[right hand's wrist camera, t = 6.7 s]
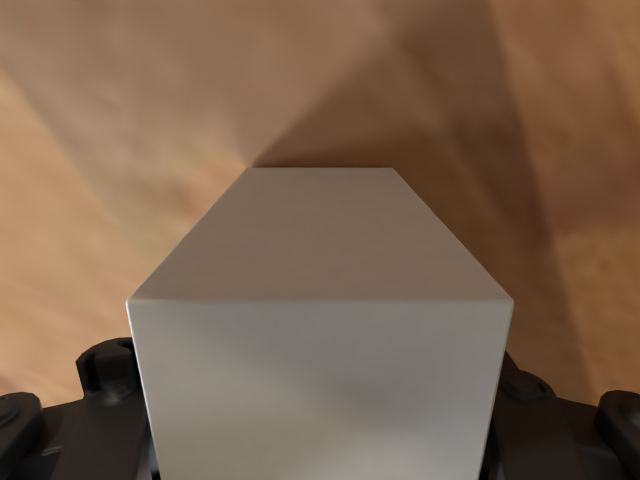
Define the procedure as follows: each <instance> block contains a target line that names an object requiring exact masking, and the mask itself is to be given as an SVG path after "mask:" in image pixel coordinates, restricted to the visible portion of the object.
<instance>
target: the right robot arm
mask: <svg viewBox="0 0 640 480" xmlns="http://www.w3.org/2000/svg"><path fill="white" fill-rule="evenodd" d="M76 366H77V370H78V373H79V377H80V381H81V384H82V388H83V392H84V397H83V399H81V400H77V401H74V402H69V403H65V404H61V405H56V406H52V407H47V408H43V409H42V406H41V403H40V400H39V398H38V397H37V396H36V395H34V394H33V393H26V392H18V393H10V394H6V395H3V396H0V480H161V477H160V472H159V467H158V462H157V457H156V452H155V447H154V442H153V437H152V432H151V427H150V422H149V417H148V412H147V407H146V402H145V397H144V393H143V388H142V383H141V378H140V373H139V368H138V363H137V358H136V353H135V348H134V343H133V338H132V337H125V338H115V339H111V340H107V341H104V342H101V343H99V344H97V345H94V346H92V347H91V348H89V349H88V350H86V351H85V352H84V353H82V354H81V355H80V357H79V358H78V359H77V360H76ZM479 480H640V394H637V393H633V392H628V391H621V390H615V391H609V392H606V393H605V394H604V395H603V396H601V399H600V402H599V405H598V407H596V406H592V405H587V404H582V403H578V402H573V401H569V400H565V399H562V398H558V397H557V396H556V394H555V393H554V391H553V390H552V388H551V387H550V386H549V385H548V384H547V383H546V382H544V381H543V380H542V379H541V378H539V377H537V376H535V375H533V374H531V373H529V372H526V371H522V370H519V368H518V367H517V366H516V364H515V363H514V361H513V360H512V359H511V357H510V356H509V354H508V353H507V352H506V350H505V352H504V357H503V362H502V367H501V372H500V377H499V382H498V387H497V392H496V397H495V402H494V407H493V412H492V417H491V422H490V427H489V432H488V436H487V441H486V446H485V451H484V456H483V461H482V466H481V471H480V476H479Z"/></svg>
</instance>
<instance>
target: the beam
mask: <svg viewBox="0 0 640 480" xmlns="http://www.w3.org/2000/svg"><path fill="white" fill-rule="evenodd" d="M126 308H127V313H128V318H129V323H130V328H131V333H132V338H133V343H134V348H135V353H136V358H137V363H138V368H139V373H140V378H141V383H142V388H143V393H144V397H145V402H146V407H147V412H148V417H149V422H150V427H151V432H152V437H153V442H154V447H155V452H156V457H157V462H158V467H159V472H160V477H161V480H479V476H480V471H481V466H482V461H483V456H484V451H485V446H486V441H487V436H488V432H489V427H490V422H491V417H492V412H493V407H494V402H495V397H496V392H497V387H498V382H499V377H500V372H501V367H502V362H503V357H504V352H505V347H506V342H507V337H508V332H509V327H510V322H511V317H512V313H513V308H514V301H513V299H512V298H511V297H510V296H509V295H508V294H507V292H506V291H505V290H504V289H503V288H502V287H501V286H500V285H499V284H498V283H497V281H496V280H495V279H494V278H493V277H492V276H491V275H490V274H489V273H488V272H487V270H486V269H485V268H484V267H483V266H482V265H481V264H480V263H479V262H478V261H477V260H476V258H475V257H474V256H473V255H472V254H471V253H470V252H469V251H468V250H467V249H466V247H465V246H464V245H463V244H462V243H461V242H460V241H459V240H458V239H457V238H456V237H455V235H454V234H453V233H452V232H451V231H450V230H449V229H448V228H447V227H446V226H445V224H444V223H443V222H442V221H441V220H440V219H439V218H438V217H437V216H436V215H435V214H434V212H433V211H432V210H431V209H430V208H429V207H428V206H427V205H426V204H425V203H424V201H423V200H422V199H421V198H420V197H419V196H418V195H417V194H416V193H415V192H414V190H413V189H412V188H411V187H410V186H409V185H408V184H407V183H406V182H405V181H404V180H403V178H402V177H401V176H400V175H399V174H398V173H397V172H396V171H395V170H394V169H393V168H246V169H245V170H244V171H243V172H242V173H241V174H240V175H239V177H238V178H237V179H236V180H235V181H234V182H233V183H232V184H231V185H230V186H229V188H228V189H227V190H226V191H225V192H224V193H223V194H222V195H221V196H220V198H219V199H218V200H217V201H216V202H215V203H214V204H213V205H212V206H211V207H210V209H209V210H208V211H207V212H206V213H205V214H204V215H203V216H202V217H201V219H200V220H199V221H198V222H197V223H196V224H195V225H194V226H193V227H192V228H191V230H190V231H189V232H188V233H187V234H186V235H185V236H184V237H183V238H182V239H181V241H180V242H179V243H178V244H177V245H176V246H175V247H174V248H173V249H172V251H171V252H170V253H169V254H168V255H167V256H166V257H165V258H164V259H163V260H162V262H161V263H160V264H159V265H158V266H157V267H156V268H155V269H154V270H153V272H152V273H151V274H150V275H149V276H148V277H147V278H146V279H145V280H144V281H143V283H142V284H141V285H140V286H139V287H138V288H137V289H136V290H135V291H134V292H133V294H132V295H131V296H130V297H129V298H128V299H127V301H126Z"/></svg>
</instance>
